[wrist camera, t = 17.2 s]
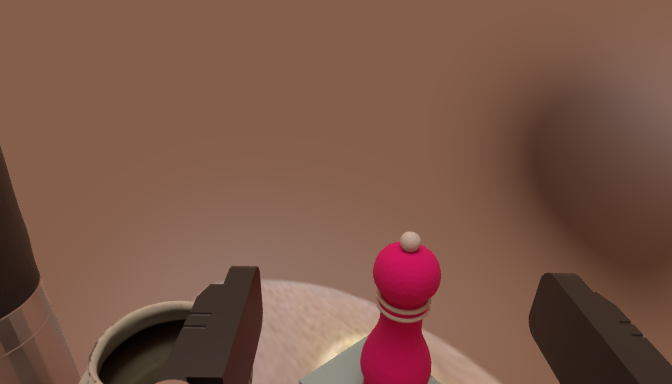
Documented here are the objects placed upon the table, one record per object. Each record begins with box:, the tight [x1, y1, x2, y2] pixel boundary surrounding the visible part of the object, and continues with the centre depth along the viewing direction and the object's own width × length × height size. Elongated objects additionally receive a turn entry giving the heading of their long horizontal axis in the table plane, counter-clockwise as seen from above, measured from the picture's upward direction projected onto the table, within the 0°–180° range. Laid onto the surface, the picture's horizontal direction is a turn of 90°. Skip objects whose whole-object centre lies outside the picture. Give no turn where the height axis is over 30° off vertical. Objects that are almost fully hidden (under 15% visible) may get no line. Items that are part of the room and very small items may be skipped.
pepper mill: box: [360, 232, 441, 384], centre depth 37 cm, size 7×7×20 cm
